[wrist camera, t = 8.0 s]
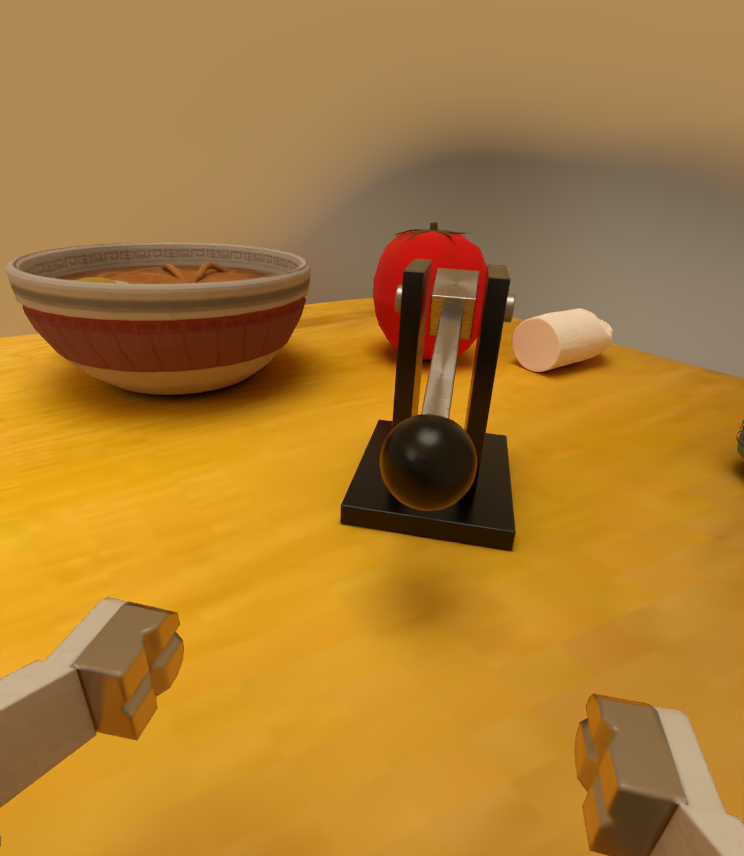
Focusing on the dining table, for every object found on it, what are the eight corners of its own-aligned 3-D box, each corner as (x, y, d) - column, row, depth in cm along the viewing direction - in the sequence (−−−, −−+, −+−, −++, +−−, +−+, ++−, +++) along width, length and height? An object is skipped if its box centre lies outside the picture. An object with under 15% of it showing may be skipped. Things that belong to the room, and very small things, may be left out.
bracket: (511, 551, 26) (566, 296, 20) (340, 523, 27) (345, 278, 21) (503, 450, 35) (538, 260, 30) (377, 434, 37) (388, 249, 31)
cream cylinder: (623, 362, 55) (638, 310, 52) (553, 380, 49) (566, 322, 46) (576, 347, 59) (587, 299, 57) (506, 361, 53) (516, 308, 51)
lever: (467, 537, 19) (480, 476, 16) (372, 521, 19) (369, 460, 17) (485, 320, 28) (495, 260, 26) (421, 315, 29) (424, 255, 26)
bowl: (-1, 444, 33) (-51, 288, 28) (68, 342, 52) (45, 240, 48) (339, 412, 40) (341, 282, 35) (288, 333, 59) (286, 242, 55)
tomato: (452, 385, 46) (471, 231, 40) (346, 356, 52) (349, 219, 46) (500, 356, 55) (521, 225, 49) (404, 334, 61) (412, 216, 55)
